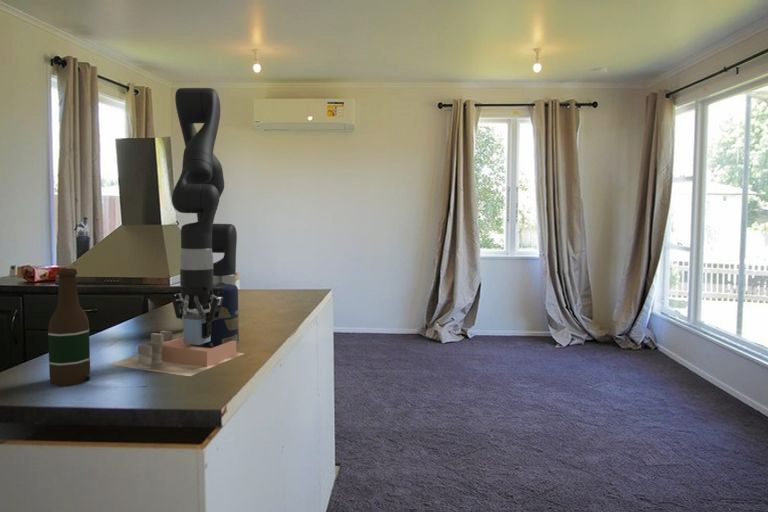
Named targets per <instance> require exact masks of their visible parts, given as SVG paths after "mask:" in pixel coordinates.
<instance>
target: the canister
mask: <svg viewBox="0 0 768 512" xmlns="http://www.w3.org/2000/svg"><path fill="white" fill-rule="evenodd" d="M219 283H222V284H219ZM212 292H213V295H215V296H217V297H221V296H222V297H223V303H222V307H221V311H220V315H219V318H218V319H217V320H214V321H212V323H211V341H209V342H206V343H203V344H202V346H205V347H207V348H213V347H216V346H219V345H222V344H224V343H227V342H230V341H236V345H237V344H238V343H239V340H240V339H239V326H240V324H239V319H240V318H239V289H238V286H237V285H236V286H235V285H232V284H225V283H224V282H218V283H216V284H213V286H212ZM210 305H212V304H211V301H210ZM205 309H206V308H205ZM205 309H204V310H205Z"/></svg>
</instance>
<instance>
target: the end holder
mask: <svg viewBox="0 0 768 512" xmlns="http://www.w3.org/2000/svg"><path fill="white" fill-rule="evenodd" d="M239 353H240V352H239V351H237V344H236V341H230V342H227V343H224V344H222V345H219V346H216V347H203V346H201V347H200V346H194V345H191V344H185V343H184V335H183V336H180V337H177V338H174V339H173V338H172V340H170V341H167V342H163V343H162V361H166V362H174V363H181V364H189V365H196V366H204V367H208V366H211V365H213V364H216V363H218V362H221V361H223V360H226V359H228V358H230V357H233V356H235V355H238V354H239Z"/></svg>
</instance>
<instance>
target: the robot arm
mask: <svg viewBox="0 0 768 512" xmlns="http://www.w3.org/2000/svg"><path fill="white" fill-rule="evenodd" d="M174 96H175V97H174V99H175V108H176V113H177V117H178V122H179V126H180V129H181V130H180V131H181V134H182V138H183V142H184V146H185V148H184V151H183V155H182V170H181V173H180V175H179V178H178V180H177V182H176V184H175V186H174V189H173V190H172V195H171V203H172V206H173V208H174V209H175V211H177V212H178V213H181V214H196V218H197V219H196V220H197V221H195V222H191V223H185V224H183V225H182V226H181V227H180V228H181V229H180V254H179V255H180V256H179V285H180V287H181V291H180V293H174V294H171V297H170V298H171V302H172V306H173V309H174V314H175V317H176V319H180V320H182V322H183V315H184V314H189V313H193V312H198V313H199V314H200V315H201V317H202V338H204V339H206V338H209V337H210V335H211V323H212V321H214V320H217V319H218V318H219V315H220V311H221V307H222V303H223V297H222V296H221V297H217V296H215V295H213V292H212V286H213V284H216V283H218V282H224V283H225V284H232V285H235V286H237V284H236V282H237V281H236V280H237V279H236V278H237V277H236V274H237V273H236V269H237V268H236V267H237V261H236V260H237V241H238V234H237V233H238V232H237V228H236V226H235V225H234V224H233V223H232V224H231V223H214V221H215V216H216V213H217V210H218V207H219V203H220V199H221V196H222V194H223V193H224V189H225V179H224V171H223V166H222V164H221V162H220V160H219V158H217V156H216V154H214V150H215V149H214V147H215V144H216V139H217V135H218V130H219V127H220V126H219V125H220V119H221V101H220V98H219V97H220V96H219V93H218V92H217V90H215V88H212V87H181V88H178V89H176V92H175V95H174ZM195 124H203V125H202V126H201V127H200V129H199V130H198V131H197V129H196V127H195ZM213 253H214V254H215V253H216V254H218V253H219V254H222V253H223V257H222V258H221V259H220V260H218V261H215V262H214V255H213ZM219 284H222V283H219ZM210 301H211V304H212V305H210ZM205 308H206V309H205ZM204 309H205V310H204ZM206 314H207V317H206Z"/></svg>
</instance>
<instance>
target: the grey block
mask: <svg viewBox="0 0 768 512" xmlns="http://www.w3.org/2000/svg"><path fill="white" fill-rule="evenodd" d="M206 317H207V314H206ZM182 322H183V326H182V327H183V336H184V343H185V344H190V345H192V346H194V345H195V346H201V345H203V343H206V342H209V341H211V335H210V337H209V338H206V339H204V338H202V317H201V315H200V314H199V313H198V311H195V312H193V313H189V314H184V315H183V321H182Z"/></svg>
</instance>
